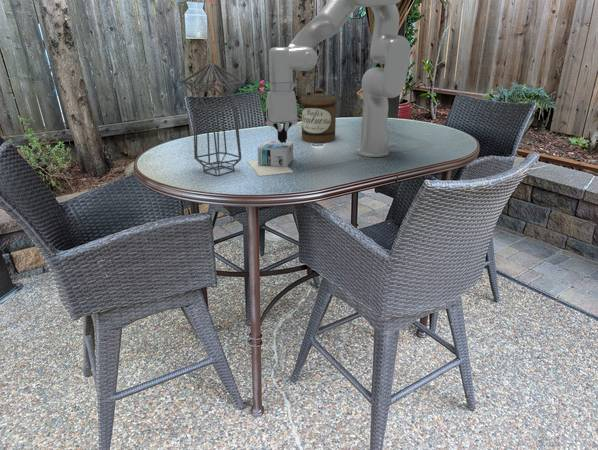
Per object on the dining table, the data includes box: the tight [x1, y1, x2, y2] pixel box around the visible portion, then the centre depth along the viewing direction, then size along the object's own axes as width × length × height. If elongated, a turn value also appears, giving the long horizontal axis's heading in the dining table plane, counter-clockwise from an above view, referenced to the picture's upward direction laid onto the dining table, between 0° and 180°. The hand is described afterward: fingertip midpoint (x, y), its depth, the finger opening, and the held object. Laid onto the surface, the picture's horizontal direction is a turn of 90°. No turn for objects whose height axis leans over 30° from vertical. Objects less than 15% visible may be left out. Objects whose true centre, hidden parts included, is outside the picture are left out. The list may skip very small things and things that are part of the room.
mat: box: [247, 160, 294, 177], centre depth 152 cm, size 12×18×1 cm, turn 19°
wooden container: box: [301, 87, 337, 144], centre depth 186 cm, size 15×15×22 cm
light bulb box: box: [257, 140, 294, 167], centre depth 155 cm, size 11×7×11 cm
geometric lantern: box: [181, 63, 246, 177], centre depth 141 cm, size 16×16×35 cm
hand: (282, 141), depth 150 cm, fingers closed
